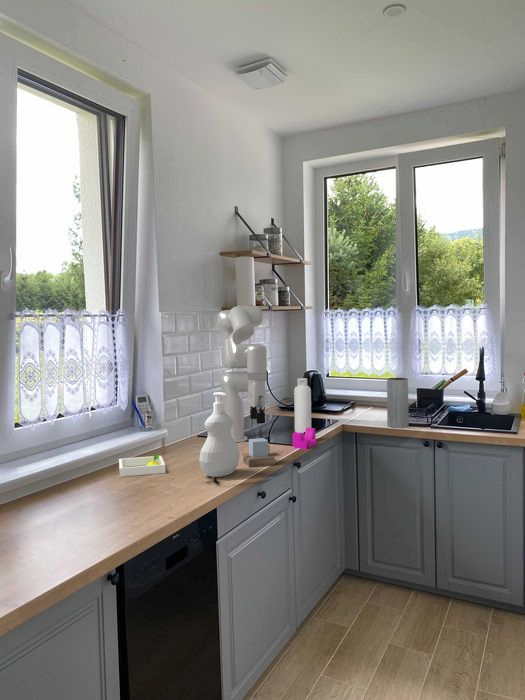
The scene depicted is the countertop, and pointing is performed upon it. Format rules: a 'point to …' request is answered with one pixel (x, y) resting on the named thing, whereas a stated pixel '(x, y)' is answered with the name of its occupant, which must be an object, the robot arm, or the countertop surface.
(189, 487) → the countertop surface
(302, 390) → the bottle
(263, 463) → the walnut base plate
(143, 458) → the ceramic fruit dish rim
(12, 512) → the countertop surface
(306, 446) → the toy block
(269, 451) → the terracotta cube
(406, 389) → the vase
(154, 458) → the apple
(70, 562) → the countertop surface
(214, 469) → the soap bottle
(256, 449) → the slate block
